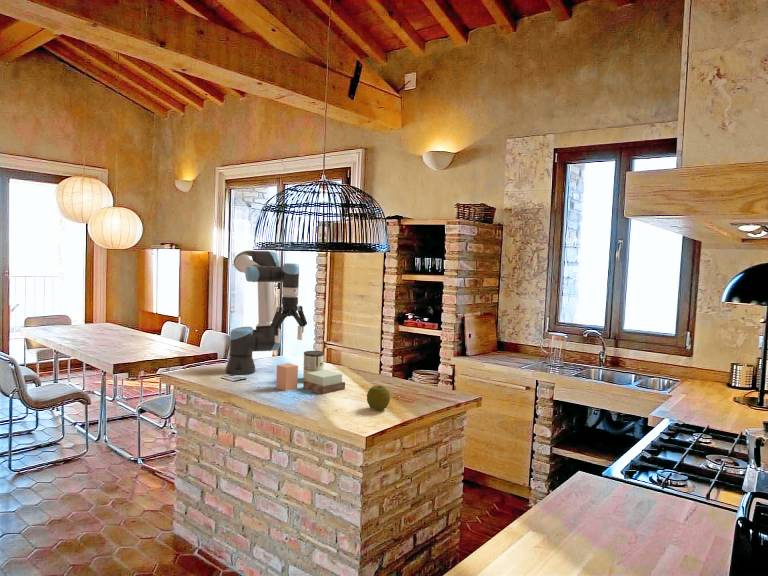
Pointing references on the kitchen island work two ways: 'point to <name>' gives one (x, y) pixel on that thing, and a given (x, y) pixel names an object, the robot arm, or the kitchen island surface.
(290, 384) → the terracotta block
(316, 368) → the coffee can
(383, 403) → the apple
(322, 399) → the kitchen island surface
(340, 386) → the walnut block
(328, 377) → the sage block
